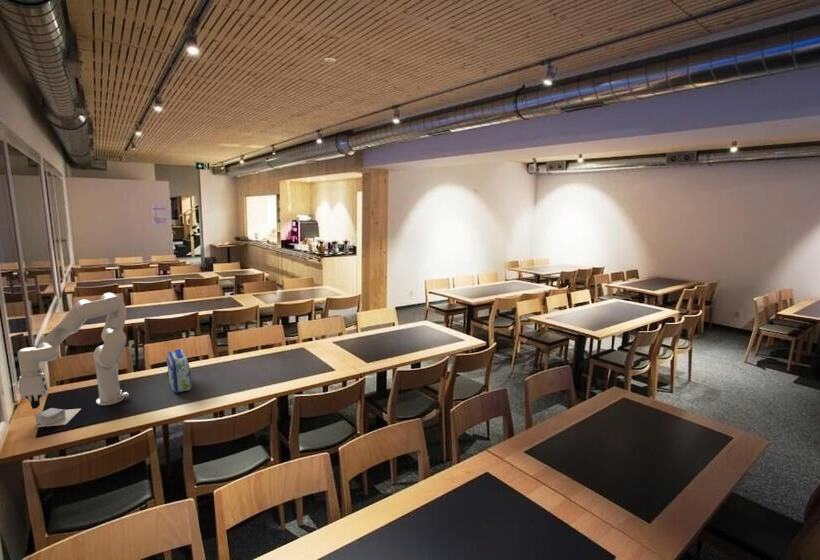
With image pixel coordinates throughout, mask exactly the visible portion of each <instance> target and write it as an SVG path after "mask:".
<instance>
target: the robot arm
mask: <svg viewBox="0 0 820 560" xmlns="http://www.w3.org/2000/svg"><path fill="white" fill-rule="evenodd" d="M106 315H107V316H106ZM103 316H106V320H105V323H104V326H103V329H102V332H101V336H100V337H101V339H102V341H103V344H101V345H98V346H97V347H96V348H95V350H94V352H93V354H92V355H93V362H94V366H95V371H96V372H95V373H96V381H97V389H98V390H97V391H98V398H97V399H96V400H95V404H97V405H98V406H111V405H115V404H117V403H119V402H122V401H123V400H125V399H124V398H128V397H129V393H128V391H124V392H123V390H122V389H121V388H120V379H119V369H118V368H119V366H118V364H119V362H120V360H121V357H122V356H123V355H122V354H123V352H124V349H125V345H126V343H127V336H126V333H125V331H124V327H125V323H126V320H127V307H126V304H125V302H124V300H123V299H122V298H121V297H120V296H119V295H117V294H116V293H113V292H105V293H103V294H102V295H101V297H100V299H97V300H93V301H91V300H89V299H84V298H83V299H79V300H78V301H76V303H75V304H74V305H73V306H72V307H71V309H70V310H69V311H68V312H67V314H66V315H65V316H64V317H63V318H62V320H61V321H60V322H59V323H57V325H56V326H55V327H54V328H52V329H51V330H50V331H49V332H48V333H47V334H46V336H45V337H44V338H43V339H42V340H41V341H40V343H39V344H38V346H37V347H35V346H32V347H31V346H30V347H23V348H21V349H18V351H17V358H18V364H19V373H20V376H19V378H18V379H19V380H18V392H19V395H20V398H23V399H26V400H28V402H30V407H31V409H32V410H34V409H35V410H36V409H37V408H39V407H40V405H41V401H40V399H41V398H43V397H46V396H48V395H49V394H48V391H49V386H48V381H47V379H46V376H45V374H44V373H45V370H44V369H42V367H41V362H43V363H45V362H51V361H54V360H55V361H56V359H58V358H59V356H60V353H61V351H60V350H59V346H60V345H61V344H62V342H63V341H64V340H65V339H67V338H68V337H69V336H71V335H74V334H76V333H77V332H79V330H80V329H81V327H83V325H84V324H85V322H86V321H87V320H88V319H89V320H90V319H95V318H98V317H103Z"/></svg>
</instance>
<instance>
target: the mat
mask: <svg viewBox="0 0 820 560" xmlns="http://www.w3.org/2000/svg"><path fill="white" fill-rule="evenodd" d="M64 410H65V418H63V419H61V420H59V421H57V422H55V423H54V424H52V425H47V424H40V423H38V425H37V426H36V428H42V427H43V428H46V427H53V426H54V427H55V426H64V425H65V426H66V425H67V424H68V423H69V422H70V421H71V420H72V419H73V418H74V417H75V416H76V415H77V414H78V413H79V412H80V411H81V410H82V408H72V409H64ZM45 426H46V427H45Z"/></svg>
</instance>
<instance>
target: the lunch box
mask: <svg viewBox="0 0 820 560" xmlns="http://www.w3.org/2000/svg"><path fill="white" fill-rule="evenodd" d="M166 363H167V364H166V365H167V371H166V372H167V377H168V382H169V383H170V386H171V388H172V391H173V392H174V393H175V394H178V393H181V392H187V391H191V390H192V387H193V386H192V385H193V384H192V376H191V375H192V374H191V368H190V363H189V361H188V358H187V355H186V353H185V351H184V349H180V348H179V349H174V350H172V351H170V350H169V351H168V352H167V357H166Z"/></svg>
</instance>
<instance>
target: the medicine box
mask: <svg viewBox="0 0 820 560" xmlns="http://www.w3.org/2000/svg"><path fill="white" fill-rule="evenodd" d="M65 410H66V409H62V408H55V407H49V408H48V409H46V410H44V411H41V412H40V413H37V414H35V415H34V416H35V423H36V424H47V425H52V424H54V423H55V422H57V421H59V420H61V419H63V418H65Z"/></svg>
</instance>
